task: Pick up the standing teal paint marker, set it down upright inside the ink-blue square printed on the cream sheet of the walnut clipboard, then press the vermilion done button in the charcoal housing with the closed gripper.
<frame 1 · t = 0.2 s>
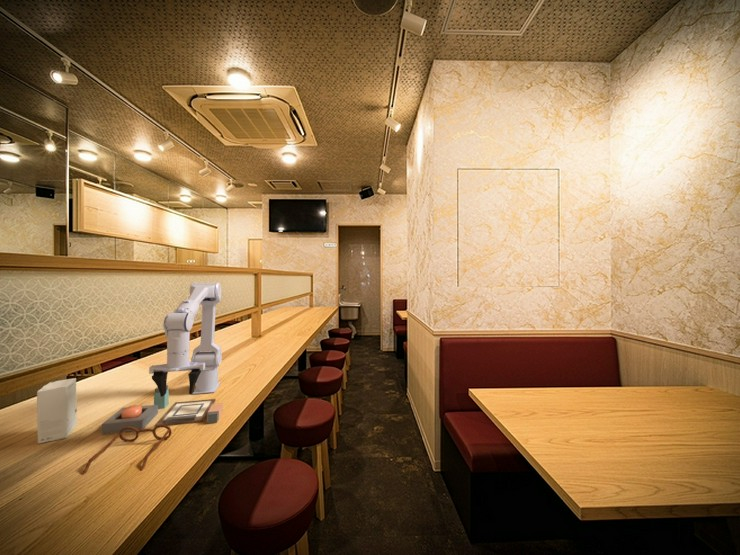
hand: (177, 394, 85), 10 cm above the counter, fingers open, 7 cm apart
skincare box: (57, 434, 79), on the counter
terracotta marker: (214, 417, 91), on the counter
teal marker: (161, 406, 97), on the counter
button housing: (131, 423, 86), on the counter
done button: (131, 413, 86), point 3 cm above the counter, slide at 0.0 cm
glasses: (130, 457, 72), on the counter
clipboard: (188, 412, 93), on the counter
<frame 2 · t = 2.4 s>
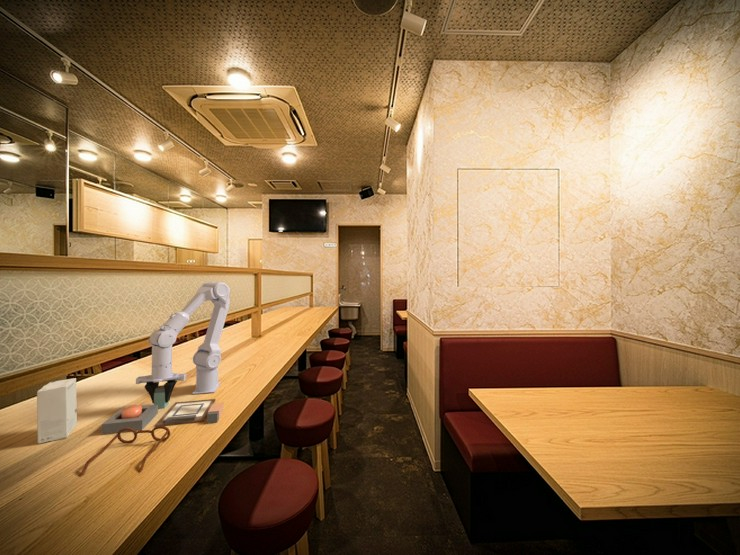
hand: (161, 401, 97), 2 cm above the counter, fingers closed on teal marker, 3 cm apart
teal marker: (161, 406, 97), on the counter, touching gripper
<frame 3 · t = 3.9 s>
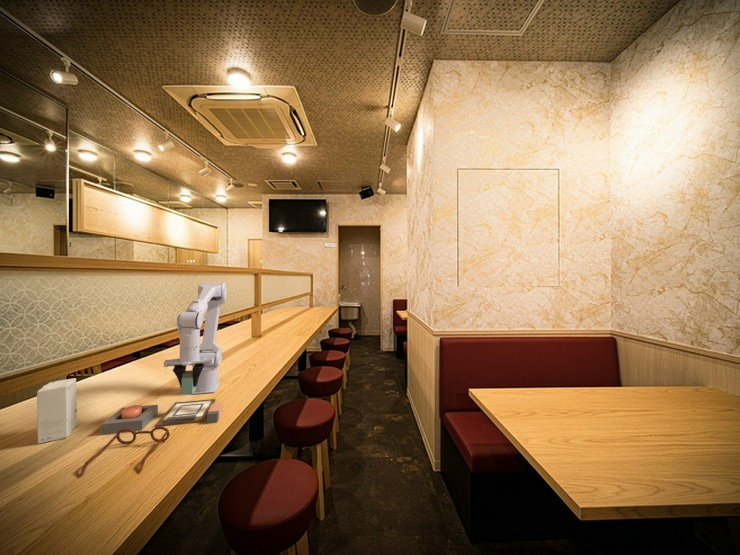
hand: (189, 386, 94), 9 cm above the counter, fingers closed on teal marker, 3 cm apart
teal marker: (188, 392, 93), point 7 cm above the counter, touching gripper
when the fingers open (3 cm above the counter, at t = 5.3 s): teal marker stays where it is, resting on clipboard.
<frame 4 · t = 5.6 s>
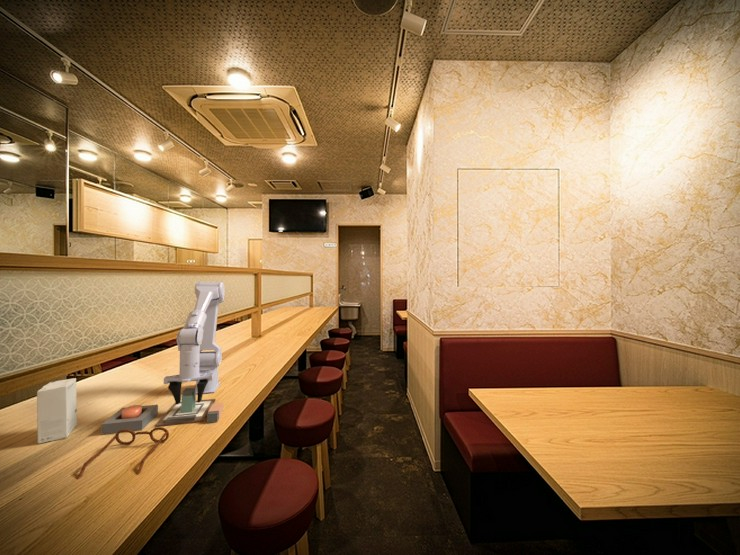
hand: (189, 402, 94), 3 cm above the counter, fingers open, 6 cm apart
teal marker: (188, 410, 93), point 1 cm above the counter, touching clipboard
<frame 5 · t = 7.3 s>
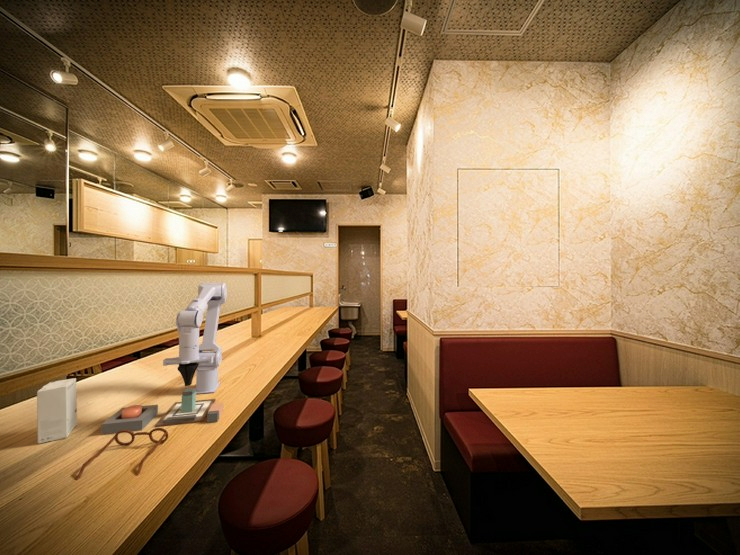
hand: (188, 384, 93), 9 cm above the counter, fingers closed
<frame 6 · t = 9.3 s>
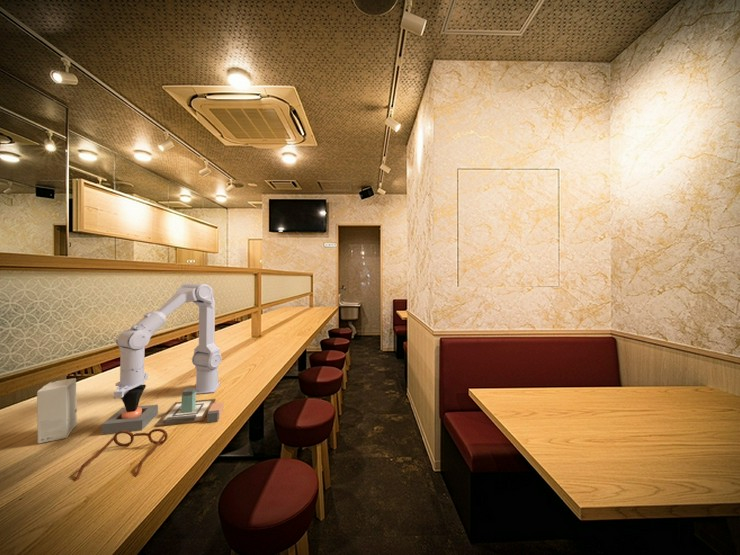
hand: (131, 410, 86), 4 cm above the counter, fingers closed, pressing on done button
done button: (131, 415, 86), point 2 cm above the counter, slide at 0.6 cm, touching gripper
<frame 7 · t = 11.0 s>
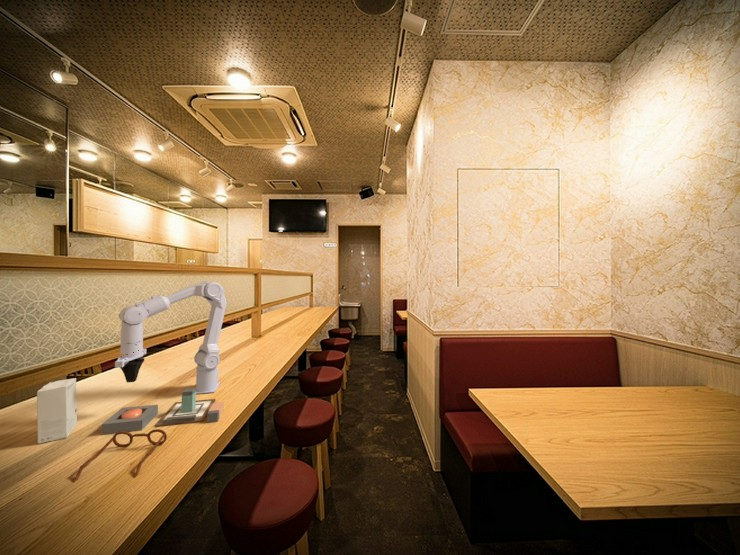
hand: (131, 381, 92), 10 cm above the counter, fingers closed
done button: (131, 416, 86), point 2 cm above the counter, slide at 1.1 cm
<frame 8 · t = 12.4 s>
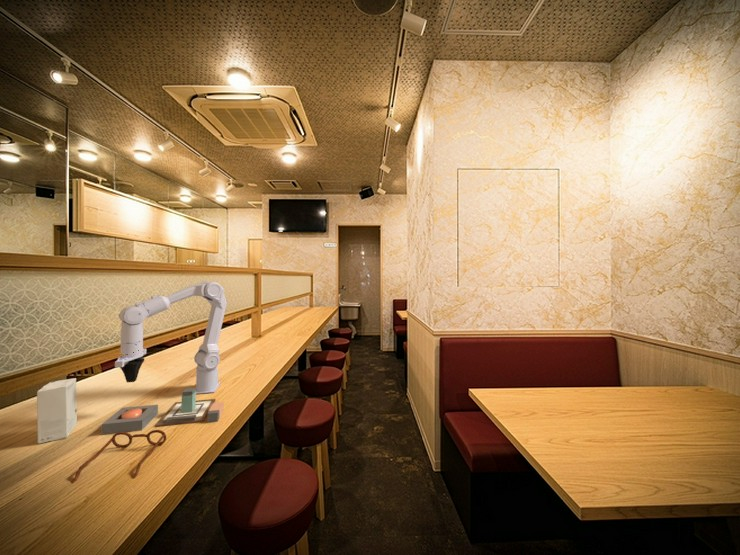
hand: (131, 381, 92), 10 cm above the counter, fingers closed
at the end: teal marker inside the target area on the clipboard (0.3 cm from its centre), point 0.7 cm above the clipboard's base; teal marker tilted 0°; done button slide at 1.1 cm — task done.
